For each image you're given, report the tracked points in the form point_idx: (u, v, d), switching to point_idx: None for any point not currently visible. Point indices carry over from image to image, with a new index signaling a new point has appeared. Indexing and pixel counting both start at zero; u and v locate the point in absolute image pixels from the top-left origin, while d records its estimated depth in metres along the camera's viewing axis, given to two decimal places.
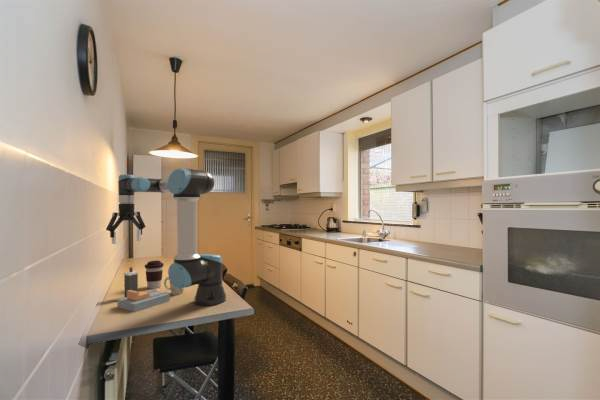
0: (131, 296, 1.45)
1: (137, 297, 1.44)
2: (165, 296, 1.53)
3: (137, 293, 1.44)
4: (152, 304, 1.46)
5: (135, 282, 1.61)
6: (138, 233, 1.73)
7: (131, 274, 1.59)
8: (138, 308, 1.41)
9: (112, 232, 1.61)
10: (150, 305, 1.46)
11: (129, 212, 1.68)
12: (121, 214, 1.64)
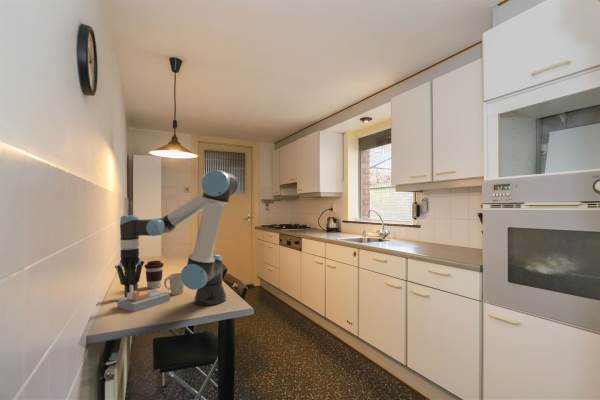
0: None
1: (137, 297, 1.44)
2: (165, 296, 1.53)
3: (138, 293, 1.44)
4: (152, 304, 1.46)
5: None
6: None
7: None
8: (138, 308, 1.41)
9: (128, 286, 1.43)
10: (150, 305, 1.46)
11: None
12: (124, 262, 1.41)
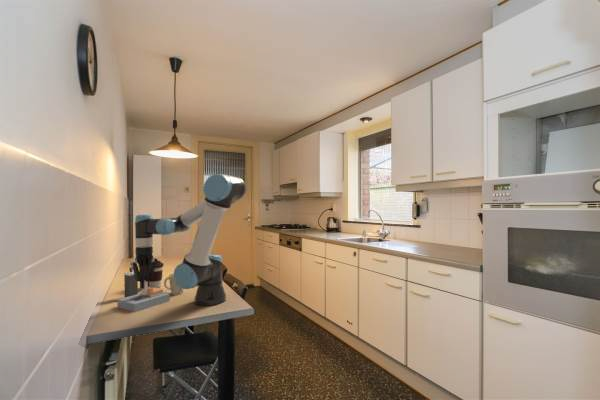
0: None
1: (151, 293, 1.50)
2: (165, 296, 1.53)
3: (152, 289, 1.50)
4: (152, 304, 1.46)
5: (136, 282, 1.61)
6: None
7: (131, 274, 1.59)
8: (138, 308, 1.41)
9: (142, 283, 1.49)
10: (150, 305, 1.46)
11: (149, 253, 1.52)
12: (139, 260, 1.47)
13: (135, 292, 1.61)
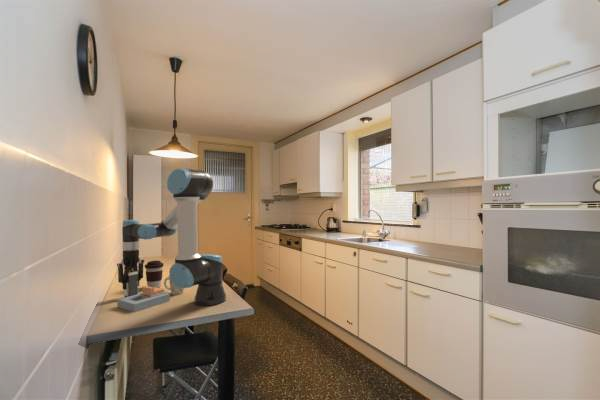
0: (147, 291, 1.51)
1: (152, 292, 1.51)
2: (165, 296, 1.53)
3: (153, 289, 1.51)
4: (152, 304, 1.46)
5: (135, 282, 1.61)
6: None
7: (131, 274, 1.59)
8: (138, 308, 1.41)
9: (124, 284, 1.58)
10: (150, 305, 1.46)
11: (134, 257, 1.62)
12: (125, 262, 1.58)
13: (135, 292, 1.61)
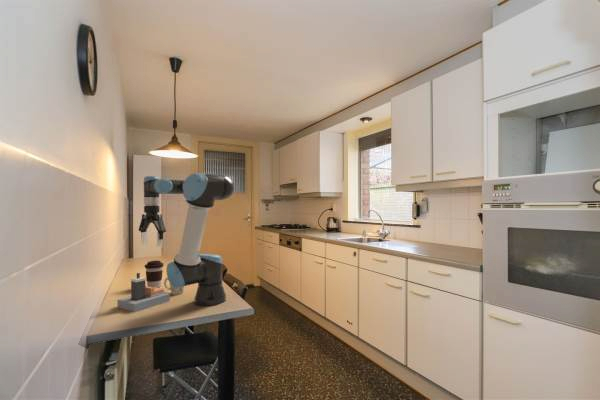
0: (147, 291, 1.51)
1: (152, 292, 1.51)
2: (165, 296, 1.53)
3: (153, 289, 1.51)
4: (152, 304, 1.46)
5: (135, 291, 1.45)
6: None
7: (132, 280, 1.46)
8: (138, 308, 1.41)
9: (141, 233, 1.69)
10: (150, 305, 1.46)
11: (151, 214, 1.64)
12: (146, 216, 1.66)
13: None
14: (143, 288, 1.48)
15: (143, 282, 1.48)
